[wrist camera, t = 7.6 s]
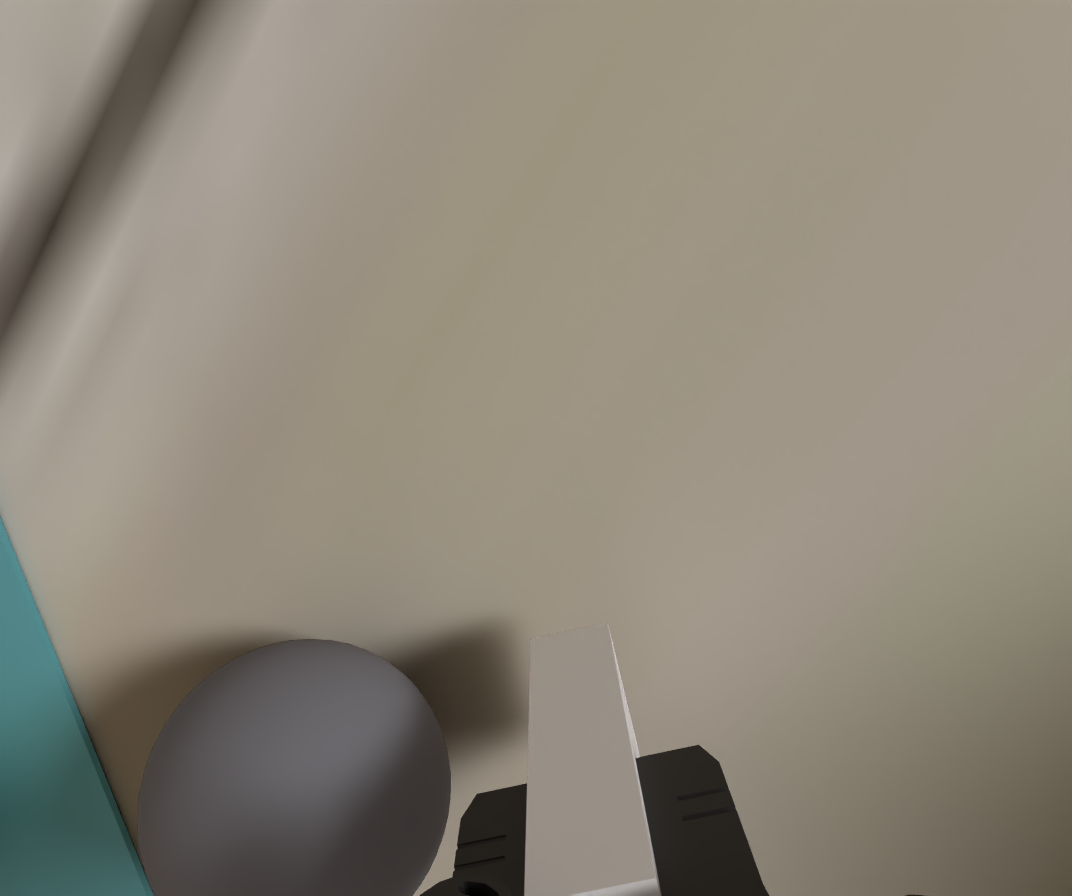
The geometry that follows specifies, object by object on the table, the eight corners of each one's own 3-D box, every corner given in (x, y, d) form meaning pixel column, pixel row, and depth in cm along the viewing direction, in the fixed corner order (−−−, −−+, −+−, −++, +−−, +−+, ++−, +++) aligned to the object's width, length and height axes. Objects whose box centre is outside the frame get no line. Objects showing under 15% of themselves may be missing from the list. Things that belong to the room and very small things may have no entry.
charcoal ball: (83, 851, 11) (75, 687, 15) (243, 1123, 12) (192, 901, 17) (445, 647, 13) (342, 557, 18) (538, 899, 15) (422, 757, 19)
